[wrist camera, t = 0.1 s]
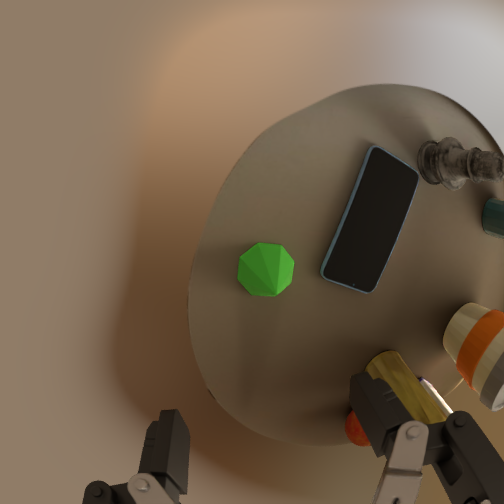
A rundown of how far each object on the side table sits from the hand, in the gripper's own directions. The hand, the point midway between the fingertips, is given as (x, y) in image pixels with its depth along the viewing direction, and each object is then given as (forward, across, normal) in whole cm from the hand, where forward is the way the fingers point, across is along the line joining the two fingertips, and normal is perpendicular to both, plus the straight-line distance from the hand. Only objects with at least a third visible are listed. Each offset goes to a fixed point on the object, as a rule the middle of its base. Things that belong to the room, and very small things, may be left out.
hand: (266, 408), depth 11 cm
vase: (+18, -16, +18) cm, 30 cm away
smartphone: (+18, -14, -3) cm, 23 cm away
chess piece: (+18, -24, -9) cm, 31 cm away
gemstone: (+18, -2, 0) cm, 18 cm away
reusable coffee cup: (+18, -32, +17) cm, 41 cm away
